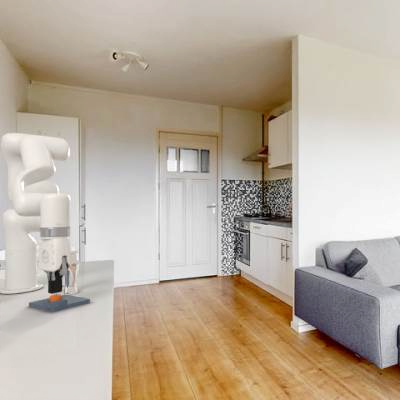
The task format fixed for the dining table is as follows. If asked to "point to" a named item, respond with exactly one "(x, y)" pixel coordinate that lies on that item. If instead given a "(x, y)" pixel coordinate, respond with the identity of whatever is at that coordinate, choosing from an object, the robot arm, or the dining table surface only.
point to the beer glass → (71, 276)
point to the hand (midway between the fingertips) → (55, 292)
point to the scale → (59, 303)
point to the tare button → (55, 298)
